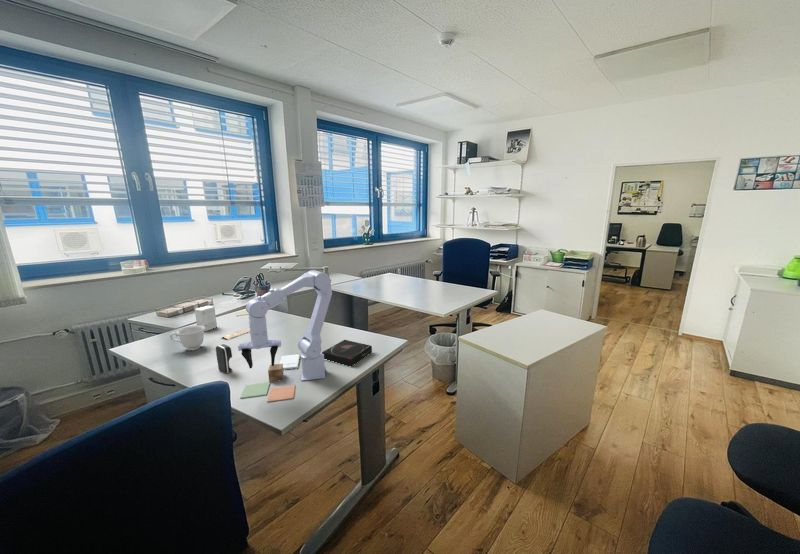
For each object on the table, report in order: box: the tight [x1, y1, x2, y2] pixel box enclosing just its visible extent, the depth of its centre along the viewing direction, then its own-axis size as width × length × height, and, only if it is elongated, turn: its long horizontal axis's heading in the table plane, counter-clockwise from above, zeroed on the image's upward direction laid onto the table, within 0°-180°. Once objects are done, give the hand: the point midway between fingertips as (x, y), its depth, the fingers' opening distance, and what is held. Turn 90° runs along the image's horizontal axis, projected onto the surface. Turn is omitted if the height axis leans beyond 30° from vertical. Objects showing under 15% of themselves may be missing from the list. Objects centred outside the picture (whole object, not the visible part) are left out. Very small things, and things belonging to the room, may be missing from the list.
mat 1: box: [240, 381, 271, 399], centre depth 123 cm, size 9×9×1 cm
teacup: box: [169, 325, 205, 351], centre depth 160 cm, size 12×15×10 cm
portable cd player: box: [321, 339, 373, 368], centre depth 152 cm, size 16×17×4 cm
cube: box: [267, 363, 284, 383], centre depth 132 cm, size 5×5×5 cm
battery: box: [215, 343, 233, 374], centre depth 138 cm, size 7×4×11 cm, turn 55°
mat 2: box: [266, 384, 296, 403], centre depth 121 cm, size 9×9×1 cm
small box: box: [194, 305, 218, 333], centre depth 187 cm, size 8×6×13 cm
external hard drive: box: [279, 353, 301, 371], centre depth 145 cm, size 2×8×12 cm
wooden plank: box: [221, 326, 250, 341], centre depth 183 cm, size 24×7×2 cm, turn 150°
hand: (262, 365), depth 121 cm, fingers open, 7 cm apart
